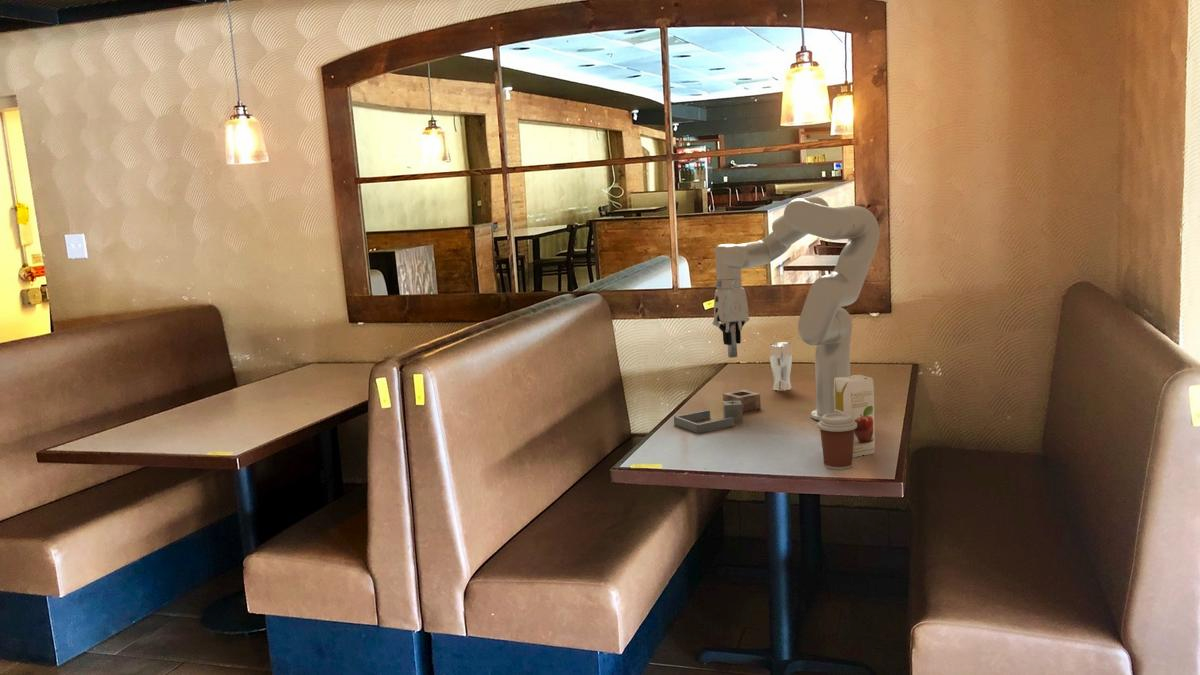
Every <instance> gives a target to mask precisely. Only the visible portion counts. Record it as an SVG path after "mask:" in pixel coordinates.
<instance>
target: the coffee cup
mask: <svg viewBox="0 0 1200 675" xmlns="http://www.w3.org/2000/svg"><path fill="white" fill-rule="evenodd" d="M816 426H817V429H818V430H819V431H820V438H821V447H822V455H823V466H824V467H825V468H826V467H827V468H826V469H828V468H829V470H833V469H835V470H834V471H839V470H840V471H843V469H844V470H849V469H851V468H852V467H853V458H852V457H853V441H854V429H856V428H857V423H856V422H855V421H854V420H853V419H852V416H851V415H849V414H845V413H829V414H825V415H823V416H822V420H821V421H819V420H818V422H817V424H816Z"/></svg>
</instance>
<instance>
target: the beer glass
mask: <svg viewBox="0 0 1200 675" xmlns="http://www.w3.org/2000/svg"><path fill="white" fill-rule="evenodd" d="M769 345H770V346H769V347H770V348H769V349H770V350H769V360H770V362H769V363H770V367H771V371H772V378H773V384H772V390H773V391H775V390H777V391H776V392H787V391H786V390H789V391H791V390H792V384H791V371H792V370H791V369H792V363H793V362H792V361H793V356H792V354H793V353H792V352H793V351H792V347H791V346H792V344H791V343H790V342H774V343H773V342H772V343H770V344H769ZM790 389H791V390H790Z"/></svg>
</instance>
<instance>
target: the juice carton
mask: <svg viewBox="0 0 1200 675" xmlns="http://www.w3.org/2000/svg"><path fill="white" fill-rule="evenodd" d="M874 388H875V387H874V378H873V377H870V376H866V375H862V374H853V375H852V374H851V375H850V376H849V377H839V378H834V413H845V414H849V415H851V416H852V419H853V420H854V421H855V422H856V423H857V428H856V429H854V441H853V457H852V459H853V458H859V457H863V456H862V455H864V456H869V455H873V454H875V446H876V445H875V442H876V438H875V435H876V433H875V431H876V429H875V428H876V427H875V389H874ZM858 456H859V457H858Z"/></svg>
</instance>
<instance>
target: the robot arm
mask: <svg viewBox="0 0 1200 675" xmlns="http://www.w3.org/2000/svg"><path fill="white" fill-rule="evenodd" d="M771 229H772V232H771V233H769V234H767V235H766V236H765V237H763V238H761V239H759V240H758V241H750V242H745V243H738V244H737V243H724V244H718V245H717V246H715V248H714V257H715V258H714V259H715V278H716V279H715V280H716V281H715V282H713V286H714V288H716V290H715V292H714V301H713V316H714V317H713V320H712V325H713V327H717V328H718V329H719V330H720V331H721V332H722V339H723V340H722V341H723V345H726V346H728V345H731V332H729V322H736V339H737V345H738V344H739V345H740V344H741V342H742V341H741V340H742V337H741V336H742V335H741V333H742V332H741V331H742V330H743V327H744V326H745V324H746V323H747V322H749V321H750V317H749V314H750V313H749V305H748V298H747V294H746V291H745V290H746V289H745V287H742V283H743V282H742V270H746V269H751V268H757V267H758V268H759V267H762V266H765V265H768V264H770V263H771V262H774V260H776V259H777V258H779V257H781V256H782V255H784V254H785V253H786V252H787V251H788V250H789V249H790V248H791V247H792V245H793V244H795V243H796V242H797V241H800V240H801V239H802V238H804V237H805V236H807V235H811V236H815V237H819V238H822V239H826V240H831V241H836V240H837V241H838V240H844V239H848V240H847V242H846V244H845V245H844V247H843V248H842V250H841V252H840V253H839V256H838V259H837V262H836V264H835V266H834V269H833V270H832V272H831V273H828V274H825V275H822V276H820V277H818V278H817V279H816V280H815V281H813V283H812V285H811V286H810V288H809V290H808V293H807V295H806V299H805V302H804V303H803V306H802V309H801V310H802V311H801V312H800V316H799V319H798V323H797V331H798V335H799V338H800V339H801V341H802V342H803V343H805V344H807V345H808V346H809V345H810V346H815V352H814V353H815V354H814V365H815V367H814V373H815V399H816V400H815V406H816V407H815V408H816V409H814V410H812V411H811V412H810V416H811V418H812V419H814V420H816V421H818V422H819V421H821V420H822V416H823V415H825V414H829V413H834V378H839V377H849V376H851V340H852V334H853V320H852V319H853V318H852V317H851V314H850V313H849V312H848V311H847V310H846V309H845V308H843V307H847V306H850V305H852V304H854V303H855V302H856V301H857V300H858V298H859V296H860V293H861V291H862V288H863V286H864V283H865V280H866V278H867V274H868V272H869V268H870V265H871V263H872V261H873V259H874V256H875V254H876V252H877V248H878V245H879V241H880V226H879V222H878V220H877V218H876V217H875V215H874V214H873V213H872V212H871V210H869V209H867V208H865V207H863V206H860V205H859V206H858V205H847V206H846V205H845V206H839V207H831V206H829V203H828V202H827V201H826V200H825V199H824V198H822V197H818V196H808V197H806V196H805V197H798V198H794V199H792V200H791V201H789V202H788V204H787V205H786V206H785V208H784V211H783V214H781V215H780V216H779V217H778V218H776V219H775V220H774V221H773V222H772V225H771Z"/></svg>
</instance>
